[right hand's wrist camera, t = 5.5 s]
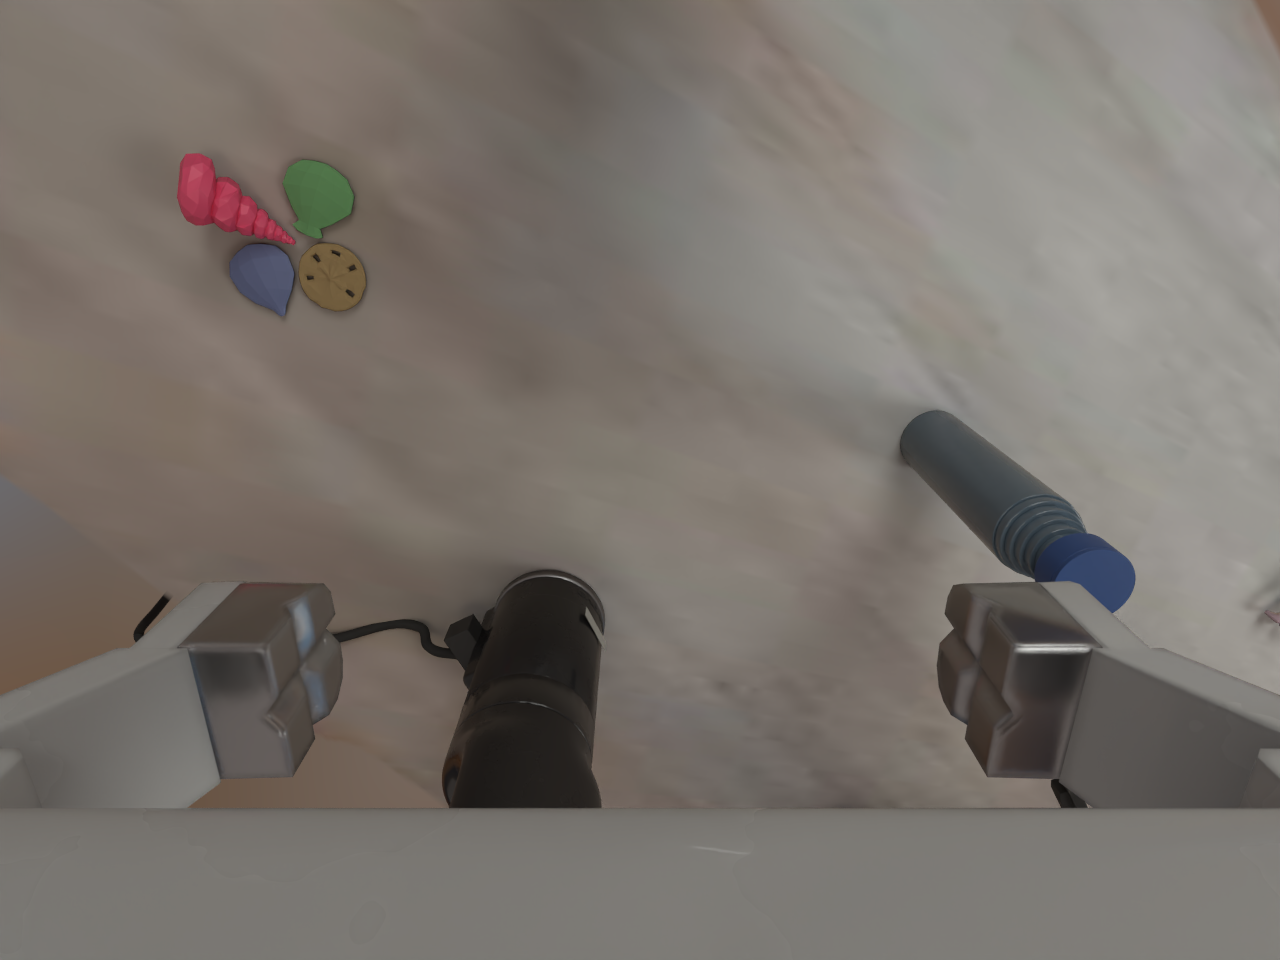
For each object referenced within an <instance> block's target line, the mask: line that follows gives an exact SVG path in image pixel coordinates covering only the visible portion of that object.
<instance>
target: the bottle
mask: <svg viewBox="0 0 1280 960" xmlns="http://www.w3.org/2000/svg"><path fill="white" fill-rule="evenodd" d="M901 452H902V455H903V457H904V459H905V460H906V462H907V463H908V464H909V465H910V466H911V467H912V468H913V469H914V470H915V471H916V472H917V473H918V474H919V475H920V477H921V478H922V479H923V480H924V481H925V482H926V483H927V484H928V485H929V486H930V487H931V488H932V489H933V490H934V491H935V492H936V494H937V495H938V496H939V497H940V498H941V499H942V500H943V501H944V502H945V503H946V504H947V505H948V506H949V507H950V508H951V509H952V510H953V512H954V513H955V514H956V515H957V516H958V517H959V518H960V519H961V520H962V521H963V522H964V523H965V524H966V525H967V526H968V527H969V529H970V530H971V531H972V532H973V533H974V534H975V535H976V536H977V537H978V538H979V539H980V540H981V541H982V542H983V543H984V544H985V546H986V547H987V548H988V549H989V550H990V551H991V552H992V553H993V554H994V555H995V556H996V557H997V558H998V559H999V560H1000V561H1001V562H1002V563H1003V564H1004V565H1005V566H1007V567H1009V568H1010V569H1012V570H1013V571H1015V572H1017V573H1020V574H1023V575H1025V576H1028V577H1031V578H1033V579H1035V576H1034V572H1035V566H1036V563H1037V560H1038V558H1039V557H1040V555H1041V554H1042V552H1043V551H1044V550H1045V549H1046V548H1047V547H1048V546H1049V545H1050V544H1051V543H1053V542H1054V541H1056V540H1057V539H1059V538H1061V537H1064V536H1067V535H1070V534H1075V533H1087V531H1086V529H1085V526H1084V524H1083V522H1082V519H1081V517H1080V515H1079V514H1078V513H1077V511H1076V510H1075V509H1074V507H1073V506H1072V505H1071V504H1070V503H1069V502H1068V501H1066V500H1065V499H1064V498H1062V497H1061V496H1060V495H1058V494H1057V493H1056V492H1054V491H1053V490H1052V489H1050V488H1049V487H1048V486H1046V485H1045V484H1044V483H1042V482H1041V481H1040V480H1039V479H1037V478H1036V477H1035V476H1033V475H1032V474H1031V473H1029V472H1028V471H1027V470H1025V469H1024V468H1023V467H1021V466H1020V465H1019V464H1017V463H1016V462H1015V461H1013V460H1012V459H1011V458H1009V457H1008V456H1007V455H1005V454H1004V453H1003V452H1001V451H1000V450H999V449H997V448H996V447H995V446H993V445H992V444H991V443H990V442H988V441H987V440H986V439H984V438H983V437H982V436H980V435H979V434H978V433H976V432H975V431H974V430H972V429H971V428H970V427H968V426H967V425H966V424H964V423H963V422H962V421H960V420H959V419H958V418H956V417H955V416H954V415H952V414H950V413H948V412H944V411H930V412H926V413H923V414H921V415H919V416H918V417H916V418H915V419H913V420H912V421H911V422H910V423H909V424H908V426H907V427H906V429H905V430H904V432H903V435H902V438H901Z"/></svg>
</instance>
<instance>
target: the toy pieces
mask: <svg viewBox="0 0 1280 960" xmlns="http://www.w3.org/2000/svg"><path fill="white" fill-rule="evenodd" d="M283 186H284V188H285V191H286V193H287V196H288V198H289V201H290V203H291V206H292V208H293V210H294V211H295V213H296V215H297V217H298V219H299V221H297V222H295V223H294V224H292V225H293V226H294V227H295V228H296V229H297V230H298V231H300V232H302V233H304V234H305V235H308V236H311V237H313V238H323V236H322V233H321V230H320V229H321V228H324V227H327V226H329V225H332V224H334V223H336V222H337V221H339V220H341V219H343V218H344V217H346V216H348V215H350V214H351V210H352V206H353V201H354V195H353V192H352V190H351V188H350V185H349V183H348V180H347V179H346V178H344V177H343V176H342V175H341V174H340V173H339V172H338V171H336V170H335V169H333V168H332V167H330V166H329V165H327V164H324V163H321V162H317V161H311V160H301V161H299V162H297V163H295V164H293V165H291V166H289V167H288V170H287V172H286V175H285V178H284V181H283ZM177 199H178V202H179V205H180V208H181V212H182V213H183V215H184V217H185V218H186V220H187V221H188V222H190V223H192V224H194V225H207V224H211V223H215V224H216V225H217V226H218V227H220V228H221V229H222V230H224V231H225V232H233V231H236V230H238V231H239V232H240V233H241V234H242V235H247V236H251V235H253V234H254V235H255V236H256V237H257V238H260V239H263V238H265V237H267V239H269V240H275V241H281V242H283V243H288V244H292V245H294V244H295V240H293V239H292V237H290V236H288V234H287V232H286V231H283V229H282V227H280V226H278V225H276V221H274V220H272V219H269V217H268V213H267V212H266V211H265V210H263V209H257V204H256V203H255V202H254V201H253V200H252V198H251V197H249V196H243V195H242V192H241V190H240V187H239V185H238V184H237V183H236V182H234V181H233V180H232V179H230V178H229V177H218V178H217V179H216V177H215V168H214V165H213V162H212V160H211V159H209V158H207V157H205V156H204V155H202V154H186V155H185V157H184V158H183V160H182V161H181V163H180V174H179V184H178V194H177ZM332 250H335V251H338V252H340V253H341V254H340V257H339V256H337V255H336V254H332ZM315 254H316V255H317V256H318V257H319V259H320V260H321V261H320V262H317V261H316V260H315V259H314V258H313V256H314V255H315ZM352 265H355V267H356V269H355V270H352V271H350V270H349V267H350V266H352ZM307 276H314V279H312V280H307ZM230 278H231V279H232V281H233V282H234V284H235V285H236V287H237V288H238V290H239V291H240V293H242V294H243V295H245V296H246V297H248V298H249V299H250V300H252V301H253V302H255V303H256V304H259V305H261V306H264V307H266V308H269V309H272V310H274V311H275V312H276V313H277V314H278V315H280V316H284V315H285V313H286V304H287V302H288V299H289V296H290V293H291V290H292V285H293V278H294V271H293V268H292V266H291V263H290V261H289V258H288V256H287V255H286V254H285V253H284V252H282V251H281V250H280V249H279V248H278V247H276V246H273V245H266V244H253V245H246V246H245V247H244V248H242V249H241V250H240V251H238V252H237V253H236V255H235V256H234V257H233V259H232V260H231V261H230ZM299 279H300V283H301V285H302V288H303V290H304V292H305V293H306V295H307V296H308V297H309V298H310V300H312V301H314V302H315V303H317V304H318V305H319V306H320V307H322V308H327V309H330V310H333V311H344V310H348V309H350V308H352V307H353V306H355V305H356V304H357V303H358V302H359V301H360V300H361V298H362V294H363V291H364V289H365V287H366V277H365V272H364V269H363V267H362V265H361V263H360V261H359V260H358V259H357V257H356V256H355V255H354V254H353V253H352V252H351V251H350V250H348V249H346V248H344V247H342V246H340V245H338V244H329V243H321V244H316V245H314V246H312V247H311V248H309V249H308V250H307V251H306V252H305V253H304V254H303V255H302V257H301V260H300V264H299ZM347 289H348V290H350V291H352V292H353V293H354V294H355V295H354V296H353V297H351V296H349V295H348V294H347V293H346V290H347Z"/></svg>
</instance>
